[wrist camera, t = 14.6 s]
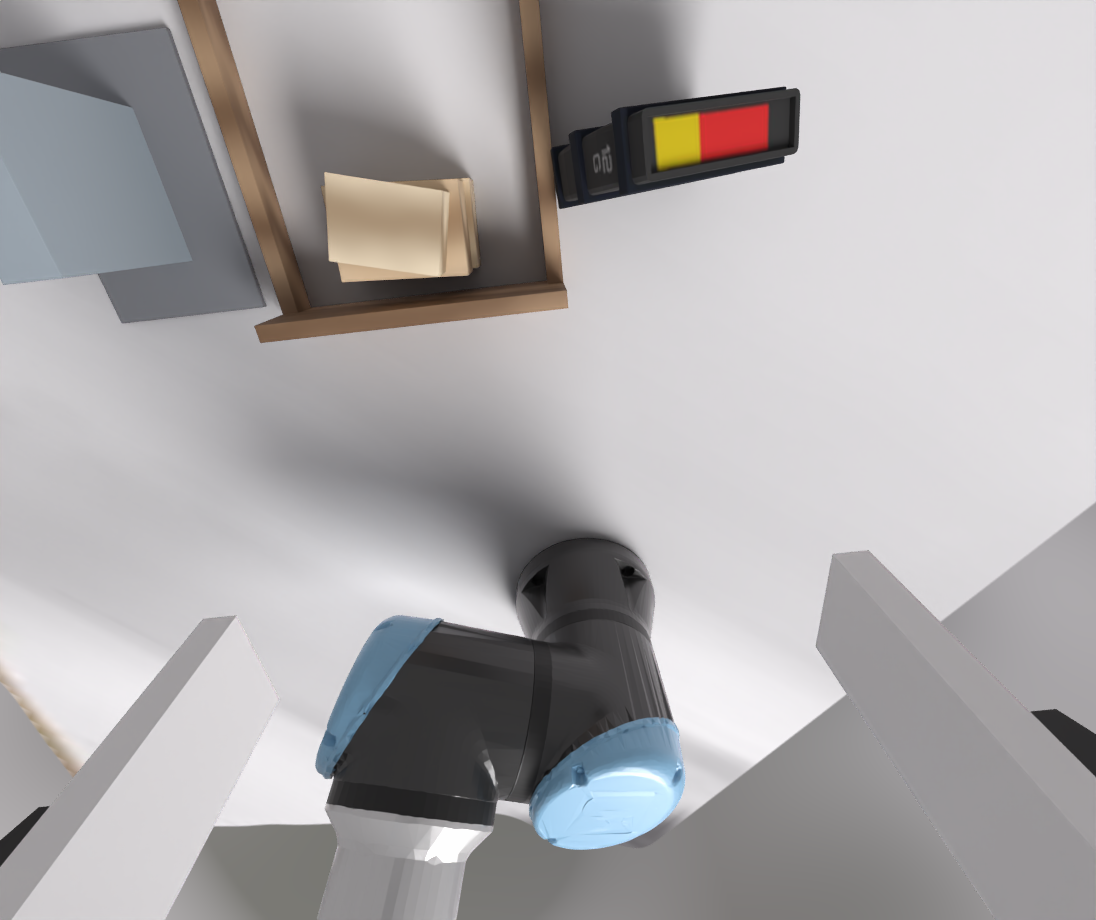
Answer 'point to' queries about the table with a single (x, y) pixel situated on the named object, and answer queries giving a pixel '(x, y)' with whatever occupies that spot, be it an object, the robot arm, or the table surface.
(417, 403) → the table surface
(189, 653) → the robot arm
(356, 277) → the block
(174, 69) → the mat
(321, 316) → the rack
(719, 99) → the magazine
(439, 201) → the offcut top
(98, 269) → the pale blue chunky brick
